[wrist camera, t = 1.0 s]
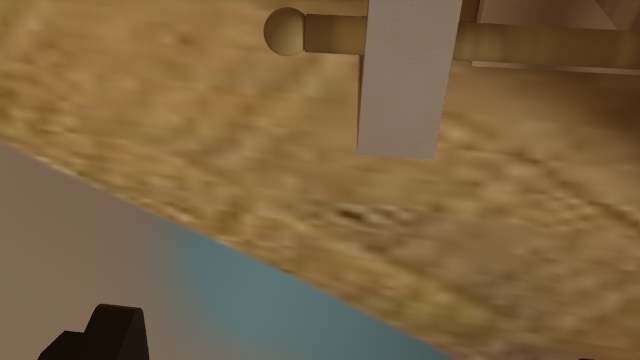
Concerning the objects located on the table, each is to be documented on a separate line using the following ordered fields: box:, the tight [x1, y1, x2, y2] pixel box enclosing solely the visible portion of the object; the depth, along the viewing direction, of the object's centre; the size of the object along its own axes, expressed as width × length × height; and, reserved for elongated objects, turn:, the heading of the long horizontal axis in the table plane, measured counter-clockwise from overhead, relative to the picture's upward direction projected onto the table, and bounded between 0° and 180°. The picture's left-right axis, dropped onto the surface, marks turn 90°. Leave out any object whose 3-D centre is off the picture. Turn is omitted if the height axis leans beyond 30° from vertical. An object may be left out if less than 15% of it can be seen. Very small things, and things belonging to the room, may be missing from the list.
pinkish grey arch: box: [357, 0, 463, 159], centre depth 24 cm, size 3×8×8 cm, turn 178°
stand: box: [264, 0, 640, 75], centre depth 25 cm, size 19×10×11 cm, turn 88°
